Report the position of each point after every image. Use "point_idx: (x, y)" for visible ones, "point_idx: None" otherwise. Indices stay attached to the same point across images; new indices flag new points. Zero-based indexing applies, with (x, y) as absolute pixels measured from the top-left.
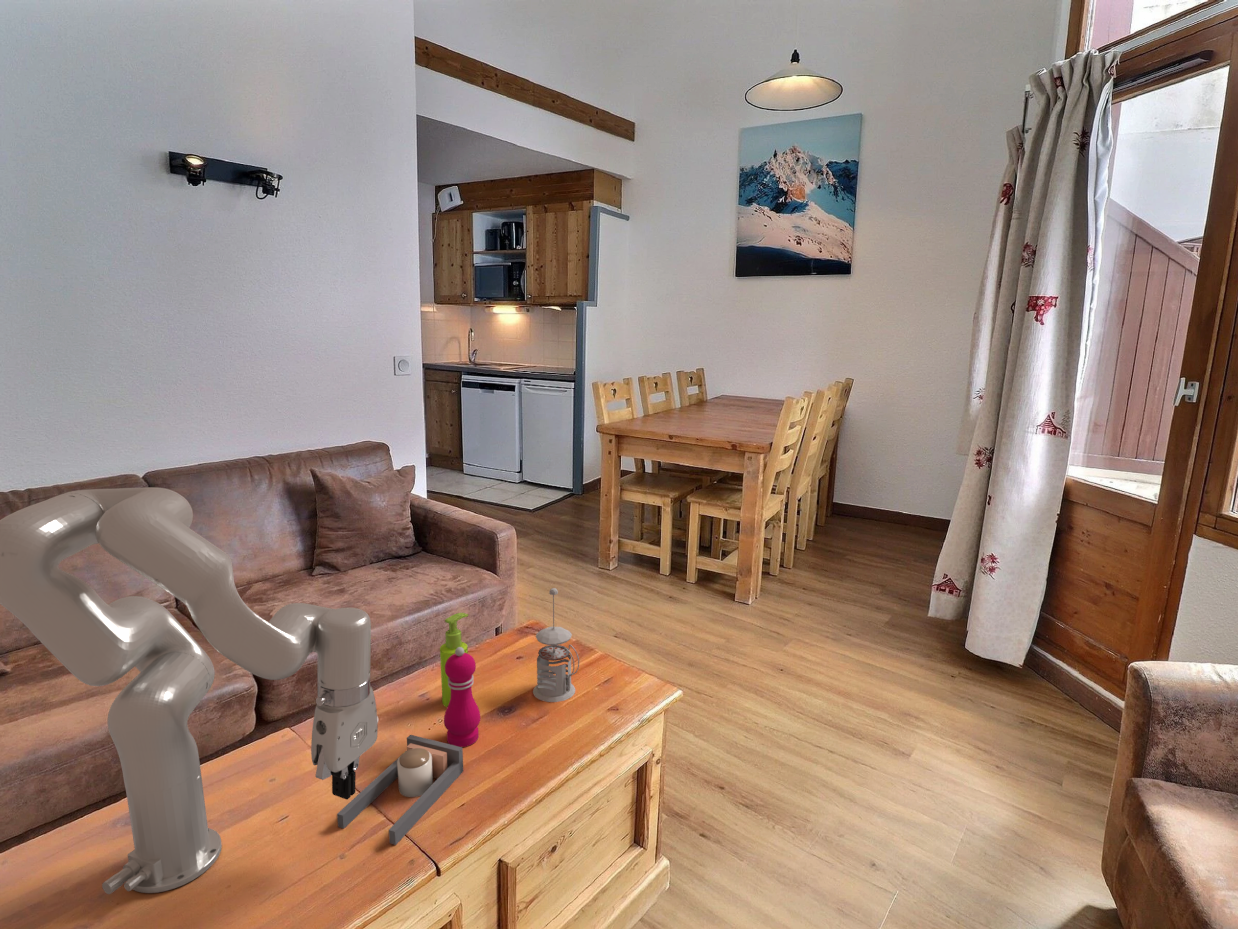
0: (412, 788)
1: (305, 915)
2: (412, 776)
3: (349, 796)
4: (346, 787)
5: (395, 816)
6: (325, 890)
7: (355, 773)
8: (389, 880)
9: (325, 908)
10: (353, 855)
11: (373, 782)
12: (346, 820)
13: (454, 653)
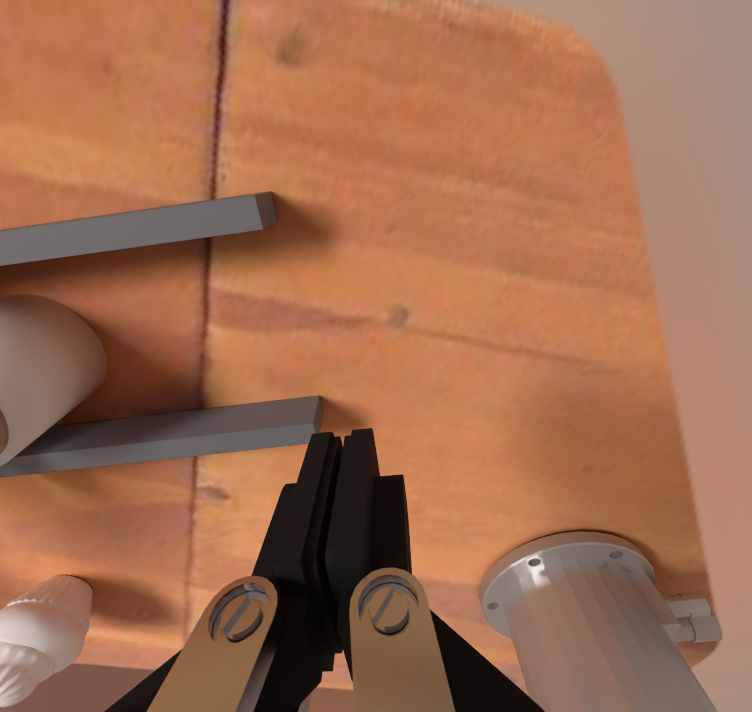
0: (56, 334)
1: (631, 227)
2: (7, 356)
3: (361, 435)
4: (369, 494)
5: (182, 303)
6: (529, 252)
7: (275, 551)
8: (409, 62)
9: (592, 189)
10: (380, 290)
11: (149, 455)
12: (302, 408)
13: None
